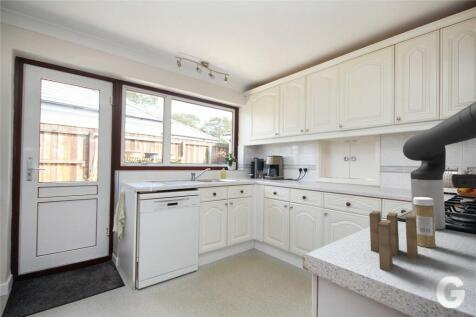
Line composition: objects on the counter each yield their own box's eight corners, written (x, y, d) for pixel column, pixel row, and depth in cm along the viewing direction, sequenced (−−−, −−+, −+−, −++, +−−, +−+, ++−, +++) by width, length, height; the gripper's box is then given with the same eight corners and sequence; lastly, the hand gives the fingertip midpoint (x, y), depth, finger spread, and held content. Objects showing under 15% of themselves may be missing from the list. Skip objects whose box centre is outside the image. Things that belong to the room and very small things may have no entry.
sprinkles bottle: (438, 245, 65) (436, 197, 66) (432, 249, 63) (430, 199, 63) (419, 241, 69) (416, 196, 69) (412, 244, 66) (410, 197, 67)
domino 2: (391, 248, 64) (389, 212, 64) (399, 249, 63) (397, 212, 63) (388, 253, 60) (386, 215, 61) (396, 255, 59) (394, 216, 59)
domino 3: (409, 251, 61) (407, 213, 62) (417, 253, 60) (416, 214, 60) (407, 257, 58) (405, 217, 58) (416, 259, 56) (414, 218, 57)
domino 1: (383, 261, 56) (382, 219, 56) (392, 263, 55) (391, 220, 55) (379, 268, 52) (378, 223, 52) (389, 271, 51) (387, 225, 51)
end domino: (374, 245, 67) (373, 210, 67) (382, 246, 65) (380, 211, 66) (370, 250, 63) (369, 213, 63) (378, 252, 62) (376, 214, 62)
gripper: (574, 158, 41) (450, 162, 51) (622, 157, 30) (452, 161, 41) (578, 201, 40) (452, 195, 51) (627, 215, 30) (455, 204, 40)
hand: (452, 180), depth 46 cm, fingers open, 8 cm apart
